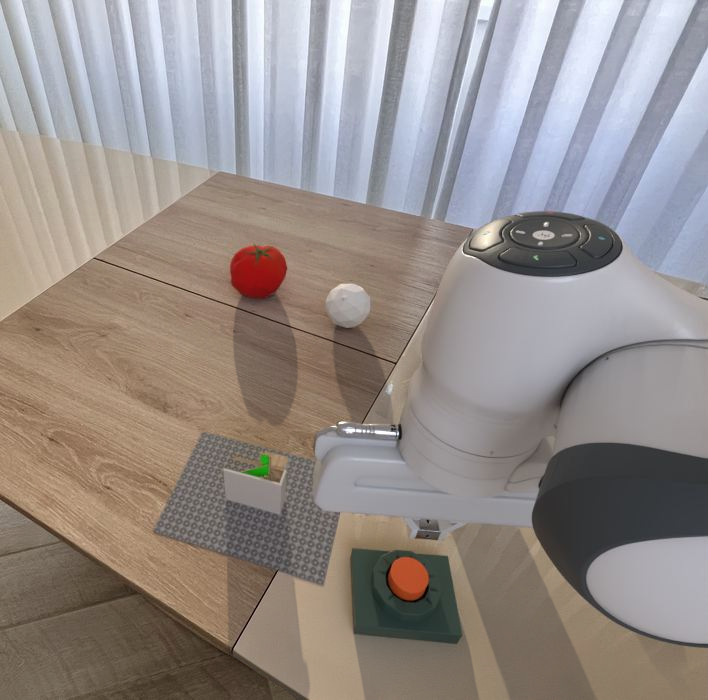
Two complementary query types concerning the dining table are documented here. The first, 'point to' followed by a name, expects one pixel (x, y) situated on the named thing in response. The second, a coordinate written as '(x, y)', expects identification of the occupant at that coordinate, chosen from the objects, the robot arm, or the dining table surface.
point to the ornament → (347, 305)
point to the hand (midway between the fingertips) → (423, 532)
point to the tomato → (258, 271)
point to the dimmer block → (398, 614)
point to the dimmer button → (408, 578)
